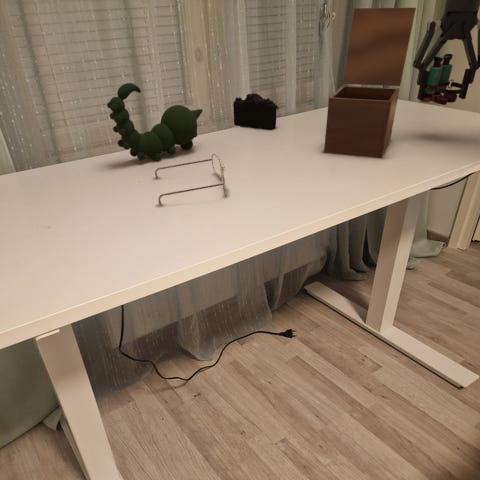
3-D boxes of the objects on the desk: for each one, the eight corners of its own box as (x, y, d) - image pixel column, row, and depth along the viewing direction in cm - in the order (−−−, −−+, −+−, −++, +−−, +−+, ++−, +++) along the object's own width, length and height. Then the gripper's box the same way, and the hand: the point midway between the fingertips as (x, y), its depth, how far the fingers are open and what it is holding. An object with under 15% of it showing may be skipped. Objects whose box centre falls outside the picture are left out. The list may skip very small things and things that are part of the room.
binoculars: (463, 62, 100) (425, 55, 106) (447, 110, 107) (413, 101, 113) (481, 58, 105) (444, 51, 110) (465, 104, 112) (431, 96, 117)
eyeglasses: (231, 198, 89) (230, 174, 86) (159, 206, 87) (155, 181, 83) (218, 172, 101) (217, 150, 98) (155, 178, 99) (152, 156, 96)
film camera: (286, 123, 134) (287, 91, 128) (272, 131, 127) (273, 97, 122) (244, 118, 140) (244, 87, 134) (229, 125, 133) (228, 93, 128)
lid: (415, 7, 101) (415, 8, 102) (354, 8, 106) (354, 9, 106) (399, 86, 108) (400, 86, 109) (342, 83, 113) (343, 83, 113)
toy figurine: (136, 176, 105) (217, 145, 115) (114, 92, 92) (206, 66, 103) (119, 167, 111) (197, 138, 121) (95, 86, 98) (185, 62, 109)
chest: (381, 158, 106) (391, 101, 98) (323, 152, 110) (328, 98, 102) (390, 140, 117) (399, 88, 109) (337, 136, 121) (342, 85, 113)
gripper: (508, -11, 100) (479, 94, 114) (411, -7, 101) (393, 97, 115) (524, -11, 94) (491, 100, 108) (420, -7, 95) (400, 102, 109)
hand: (440, 98), depth 111 cm, fingers closed on binoculars, 10 cm apart
